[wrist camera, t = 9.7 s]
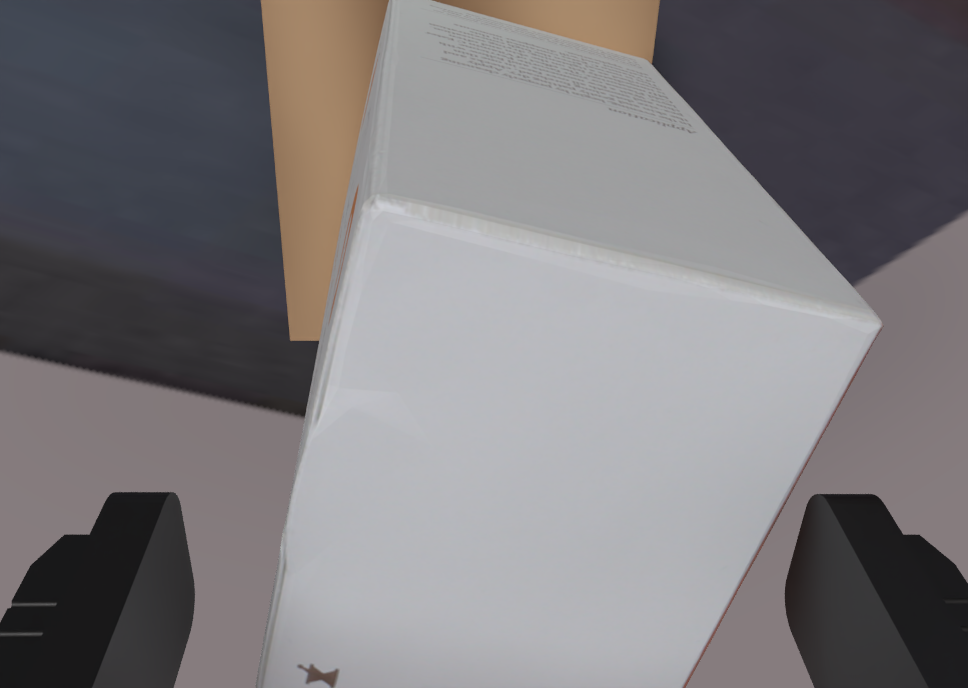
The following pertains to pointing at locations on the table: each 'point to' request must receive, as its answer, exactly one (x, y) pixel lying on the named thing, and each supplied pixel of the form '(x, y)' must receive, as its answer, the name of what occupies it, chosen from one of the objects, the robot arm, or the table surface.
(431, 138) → the small box
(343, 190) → the base brick
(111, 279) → the table surface
